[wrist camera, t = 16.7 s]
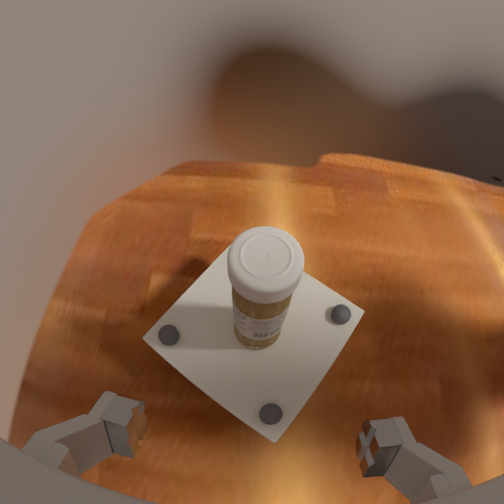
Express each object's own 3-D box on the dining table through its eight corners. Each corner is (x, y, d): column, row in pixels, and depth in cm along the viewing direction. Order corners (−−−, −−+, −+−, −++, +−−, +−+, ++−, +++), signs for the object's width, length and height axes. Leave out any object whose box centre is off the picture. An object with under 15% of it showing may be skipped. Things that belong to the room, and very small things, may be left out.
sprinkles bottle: (280, 307, 31) (303, 224, 19) (280, 351, 28) (308, 291, 17) (233, 306, 30) (229, 221, 19) (231, 350, 28) (224, 289, 17)
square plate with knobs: (242, 261, 41) (242, 229, 35) (346, 331, 36) (366, 309, 30) (158, 354, 34) (140, 336, 28) (269, 440, 29) (275, 443, 23)
